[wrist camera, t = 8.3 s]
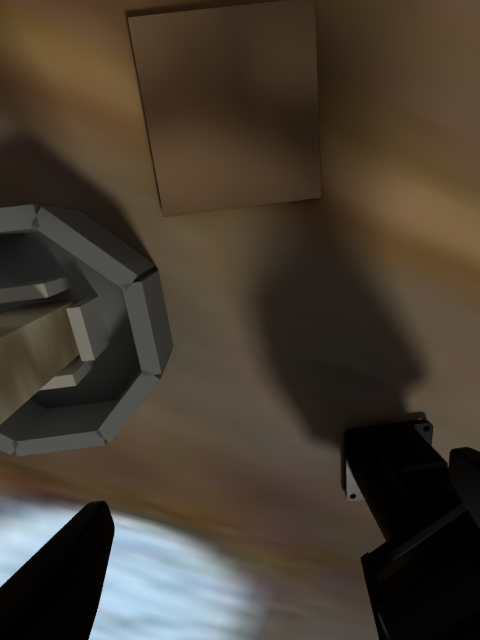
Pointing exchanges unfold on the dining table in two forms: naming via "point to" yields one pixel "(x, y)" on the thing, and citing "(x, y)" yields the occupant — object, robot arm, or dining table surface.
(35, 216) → the bowl
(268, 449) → the dining table surface
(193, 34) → the coaster
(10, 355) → the square wooden post
